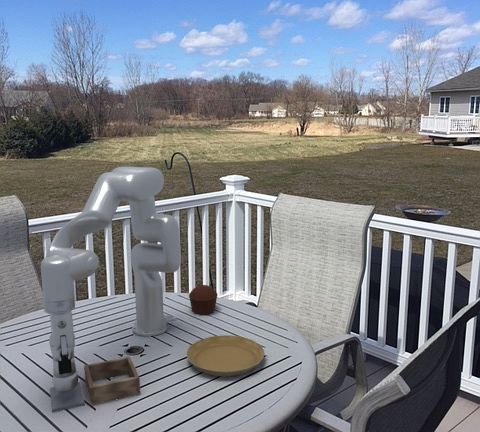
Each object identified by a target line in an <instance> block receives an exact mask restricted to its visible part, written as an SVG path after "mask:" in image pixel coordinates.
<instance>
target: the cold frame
mask: <svg viewBox="0 0 480 432" xmlns="http://www.w3.org/2000/svg"><path fill="white" fill-rule="evenodd" d="M83 369H84V379H85V380H84V381H85V382H84V383H85V385H86V390H87V395H88V399H89V402H90V403H89V404H90V406H96V405H100V404H104V403H108V401H109V402H114V401H117V400H116V399H118V400H122V399H126V397H127V398H130V396H131V397H135V395H136V396H139V395H141V382H140V381H141V379H140V376H139V373H138V371H137V369H136V367H135V365H134V362H133V360H132V358H131V356H125V357H120V358H115V359H110V360H109V359H108V360H105V361H101V362H99V361H98V362H95V363H90V364H85V365H83ZM126 375H127V376H128V377H127V378H123V379H119V380H113V381H109V382H104V383H100V384H99V383H98V384H93V382H97V381H103V380H107V378H108V379H111V377H113V378H117V377H122V376H126ZM116 376H117V377H116ZM113 400H114V401H113Z"/></svg>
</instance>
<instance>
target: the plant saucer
mask: <svg viewBox="0 0 480 432" xmlns="http://www.w3.org/2000/svg"><path fill="white" fill-rule="evenodd" d="M264 357H265V349H264V347H263V346H262V345H261V344H260V343H258V342H257V341H255V340H254V339H251V338H248V337H244V336H239V335H231V334H230V335H227V334H226V335H225V334H223V335H213V336H207V337H205V338H201V339H200V340H196V341H195V342H193V343H192V344H191V345H190V346H189V347H188V348H187V351H186V358H187V360H188V362H189V363H190V364H191V366H193V367H194V368H195V369H196V370H198V371H200V372H201V373H205V374H207V375H210V376H213V377H234V376H241V375H242V374H246V373H248V372H251V371H252V370H254V369H255V368H256V367H258V366H259V365H260V364H261V362H262V361H263V359H264Z"/></svg>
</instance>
